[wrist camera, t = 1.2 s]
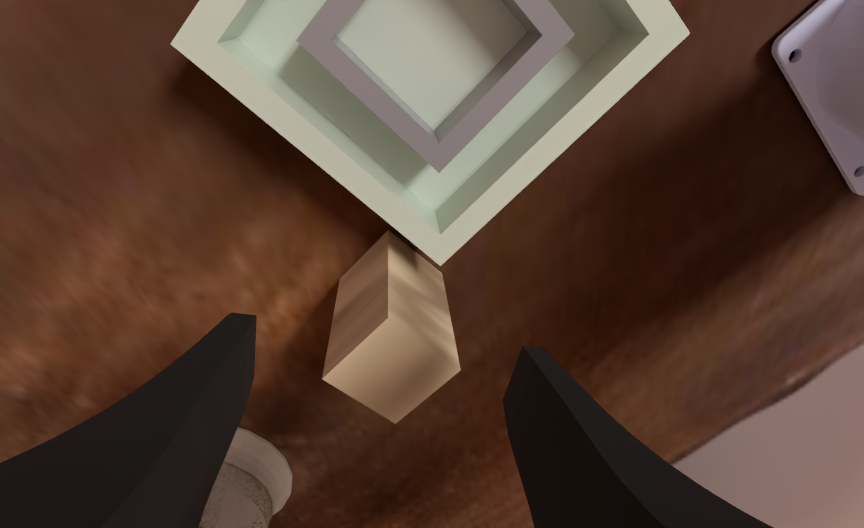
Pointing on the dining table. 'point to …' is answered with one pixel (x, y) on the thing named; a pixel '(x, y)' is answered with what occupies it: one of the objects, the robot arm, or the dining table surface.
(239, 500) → the mug
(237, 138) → the dining table surface
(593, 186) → the dining table surface
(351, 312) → the tan wooden block
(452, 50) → the square tray
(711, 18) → the dining table surface
